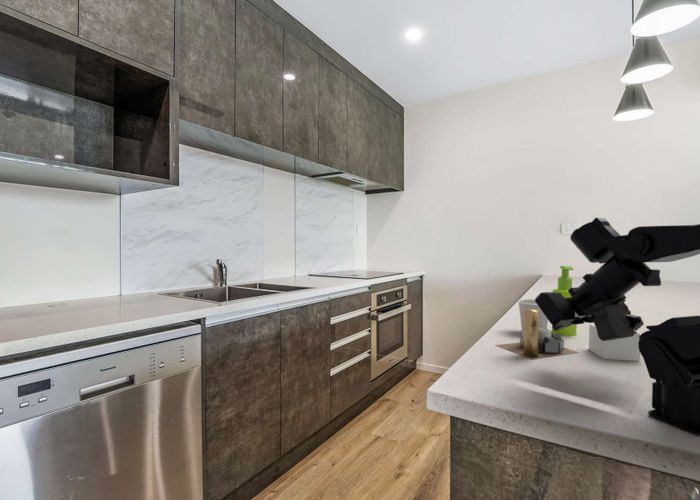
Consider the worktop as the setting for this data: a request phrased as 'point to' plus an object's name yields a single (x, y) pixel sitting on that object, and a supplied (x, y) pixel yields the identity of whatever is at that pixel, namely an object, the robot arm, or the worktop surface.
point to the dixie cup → (532, 305)
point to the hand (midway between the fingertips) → (554, 328)
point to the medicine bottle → (614, 346)
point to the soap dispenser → (563, 288)
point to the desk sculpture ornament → (537, 336)
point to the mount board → (542, 333)
